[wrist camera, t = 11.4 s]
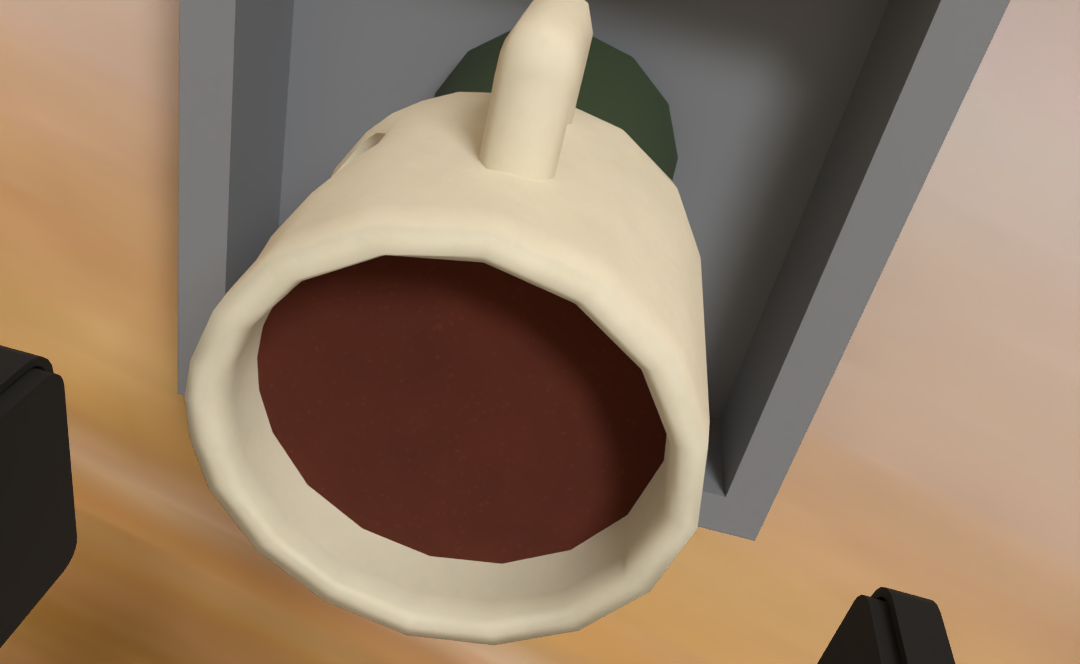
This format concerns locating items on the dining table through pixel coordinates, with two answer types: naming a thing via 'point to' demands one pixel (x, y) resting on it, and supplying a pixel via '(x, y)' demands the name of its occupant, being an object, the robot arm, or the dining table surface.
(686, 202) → the grey tray
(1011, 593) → the dining table surface
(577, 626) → the character mug
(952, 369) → the dining table surface
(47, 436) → the robot arm
